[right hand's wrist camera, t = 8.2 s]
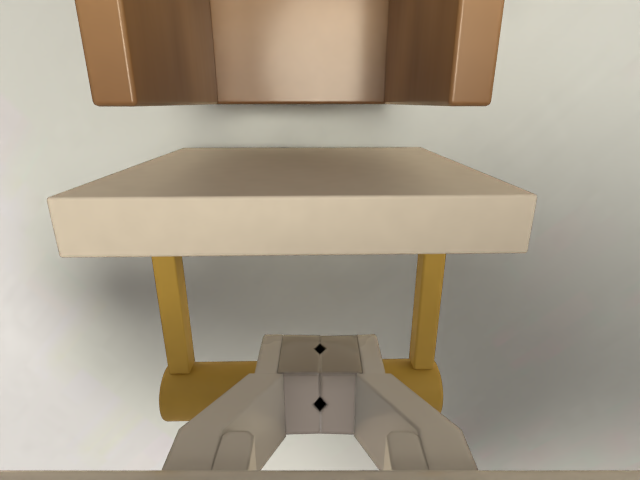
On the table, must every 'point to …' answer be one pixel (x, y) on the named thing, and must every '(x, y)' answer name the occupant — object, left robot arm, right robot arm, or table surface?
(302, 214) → the drawer
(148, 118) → the table surface
